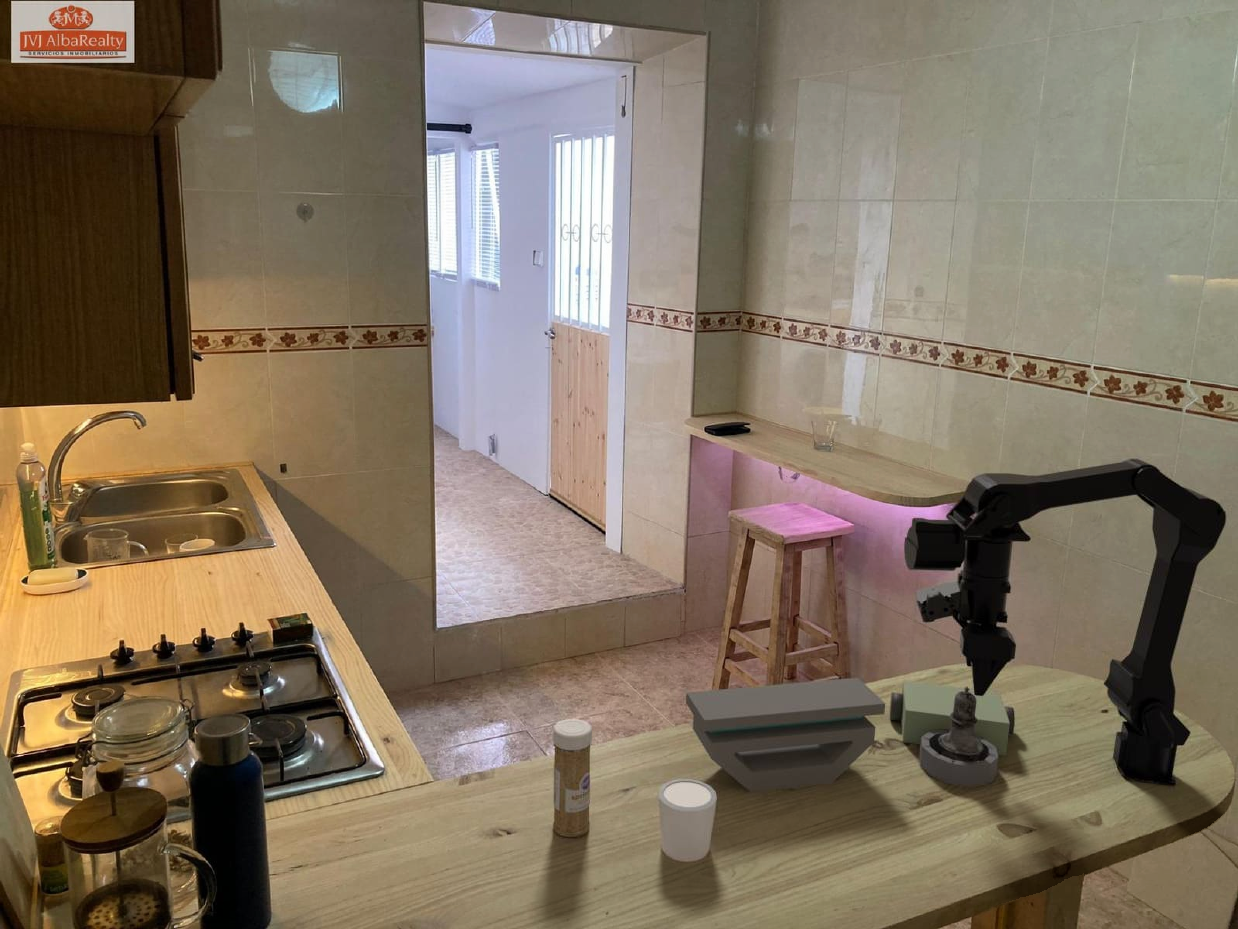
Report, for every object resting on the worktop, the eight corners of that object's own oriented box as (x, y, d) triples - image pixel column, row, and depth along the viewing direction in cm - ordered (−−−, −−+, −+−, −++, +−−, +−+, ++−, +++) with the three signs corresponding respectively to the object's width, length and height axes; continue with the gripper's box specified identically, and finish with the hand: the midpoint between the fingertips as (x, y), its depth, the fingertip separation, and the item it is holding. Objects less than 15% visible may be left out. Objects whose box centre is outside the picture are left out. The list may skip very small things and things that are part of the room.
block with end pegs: (1007, 724, 145) (1011, 693, 144) (1029, 795, 126) (1033, 760, 125) (889, 709, 149) (892, 679, 148) (893, 776, 130) (896, 742, 129)
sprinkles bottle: (582, 842, 114) (584, 738, 111) (546, 834, 115) (547, 732, 112) (595, 821, 118) (597, 720, 115) (560, 813, 120) (561, 714, 117)
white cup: (697, 872, 109) (700, 817, 108) (645, 851, 113) (647, 798, 111) (724, 842, 115) (727, 789, 113) (673, 823, 118) (675, 771, 117)
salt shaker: (941, 777, 130) (950, 695, 127) (930, 754, 136) (939, 676, 133) (986, 780, 130) (996, 697, 127) (973, 757, 135) (982, 678, 133)
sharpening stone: (852, 748, 137) (858, 677, 135) (878, 778, 130) (885, 703, 127) (683, 766, 131) (686, 692, 129) (700, 797, 124) (704, 720, 122)
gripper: (918, 544, 138) (909, 646, 141) (926, 588, 120) (916, 704, 123) (1000, 551, 135) (989, 655, 138) (1022, 597, 117) (1009, 715, 121)
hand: (974, 680), depth 130 cm, fingers open, 9 cm apart
